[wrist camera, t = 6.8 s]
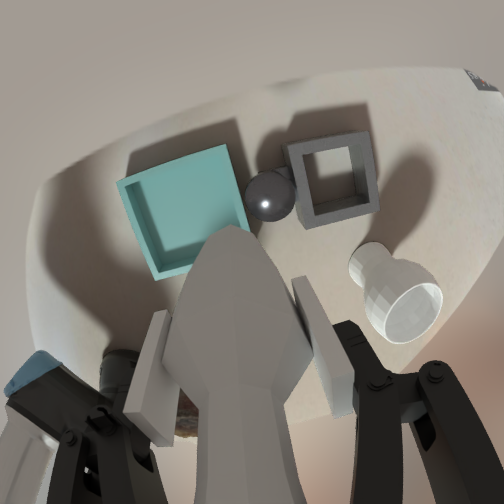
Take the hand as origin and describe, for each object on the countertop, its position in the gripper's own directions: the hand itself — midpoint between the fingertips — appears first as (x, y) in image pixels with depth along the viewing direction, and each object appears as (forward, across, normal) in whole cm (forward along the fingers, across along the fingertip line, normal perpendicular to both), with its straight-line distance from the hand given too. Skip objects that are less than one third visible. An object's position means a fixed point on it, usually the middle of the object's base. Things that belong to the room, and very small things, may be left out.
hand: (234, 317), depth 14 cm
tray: (+26, -6, 0) cm, 27 cm away
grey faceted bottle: (+8, 0, 0) cm, 8 cm away
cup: (+26, +20, -15) cm, 36 cm away
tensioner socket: (+26, +11, +1) cm, 28 cm away
